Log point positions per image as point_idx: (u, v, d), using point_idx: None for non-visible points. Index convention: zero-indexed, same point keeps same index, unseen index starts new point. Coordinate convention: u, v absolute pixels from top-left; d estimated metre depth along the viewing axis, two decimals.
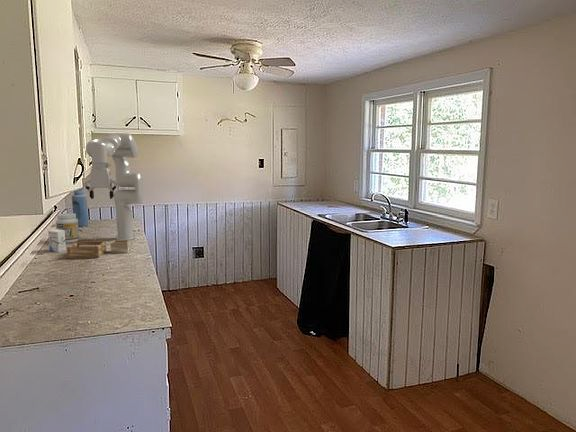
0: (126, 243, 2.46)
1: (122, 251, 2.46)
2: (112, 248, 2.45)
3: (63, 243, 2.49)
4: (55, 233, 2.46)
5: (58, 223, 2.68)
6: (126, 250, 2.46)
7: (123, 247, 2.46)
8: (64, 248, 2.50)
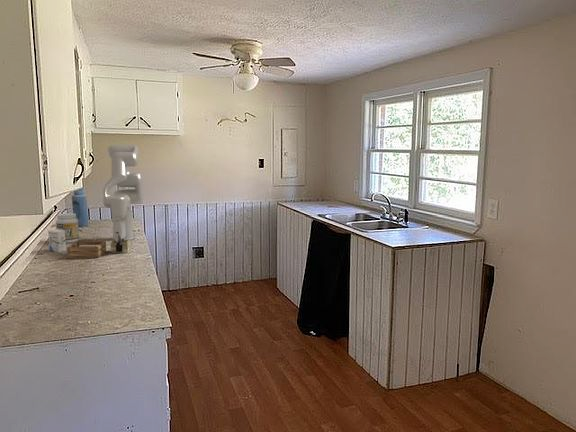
0: (126, 243, 2.46)
1: (122, 251, 2.46)
2: (112, 248, 2.45)
3: (63, 243, 2.49)
4: (55, 233, 2.46)
5: (58, 223, 2.68)
6: (126, 250, 2.46)
7: (123, 247, 2.46)
8: (64, 248, 2.50)
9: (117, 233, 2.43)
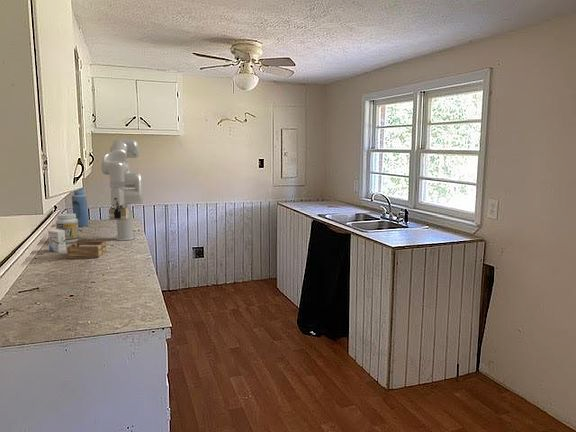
0: (124, 210, 2.43)
1: (120, 218, 2.44)
2: (110, 215, 2.43)
3: (63, 243, 2.49)
4: (55, 233, 2.46)
5: (58, 223, 2.68)
6: (124, 217, 2.44)
7: (121, 214, 2.43)
8: (64, 248, 2.50)
9: (115, 199, 2.40)
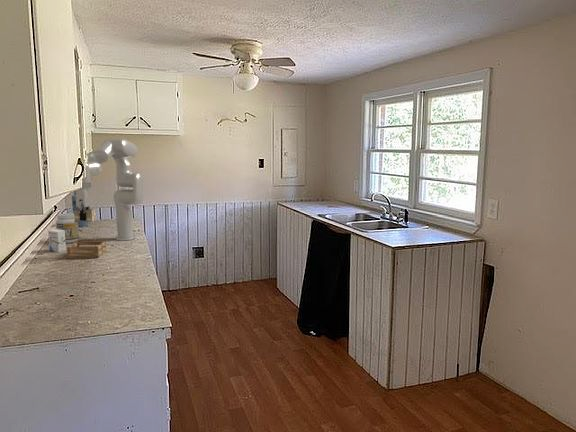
0: (90, 212, 2.35)
1: (86, 220, 2.36)
2: (76, 217, 2.35)
3: (63, 243, 2.49)
4: (55, 233, 2.46)
5: (58, 223, 2.68)
6: (90, 219, 2.36)
7: (87, 216, 2.35)
8: (64, 248, 2.50)
9: (80, 201, 2.32)
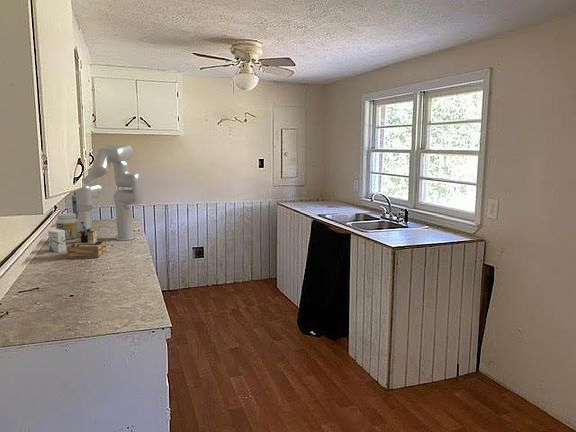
0: (91, 234, 2.37)
1: (87, 242, 2.37)
2: (77, 239, 2.36)
3: (63, 243, 2.49)
4: (55, 233, 2.46)
5: (58, 223, 2.68)
6: (92, 241, 2.37)
7: (88, 238, 2.37)
8: (64, 248, 2.50)
9: (82, 223, 2.34)
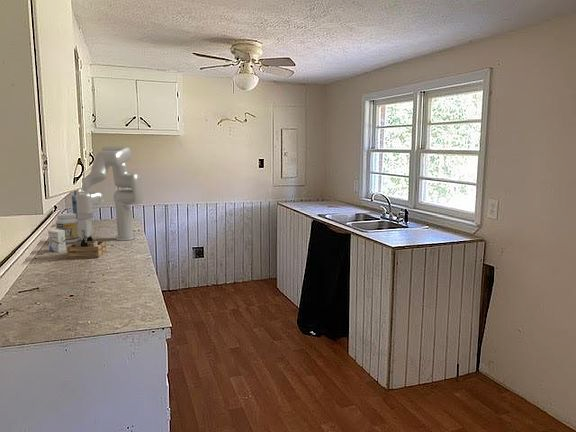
0: (92, 244, 2.38)
1: None
2: None
3: (63, 243, 2.49)
4: (55, 233, 2.46)
5: (58, 223, 2.68)
6: (93, 251, 2.39)
7: None
8: (64, 248, 2.50)
9: None
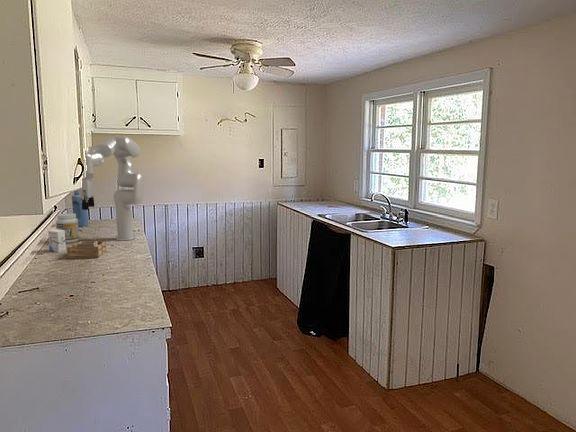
0: (92, 244, 2.38)
1: None
2: None
3: (63, 243, 2.49)
4: (55, 233, 2.46)
5: (58, 223, 2.68)
6: (93, 251, 2.39)
7: None
8: (64, 248, 2.50)
9: None
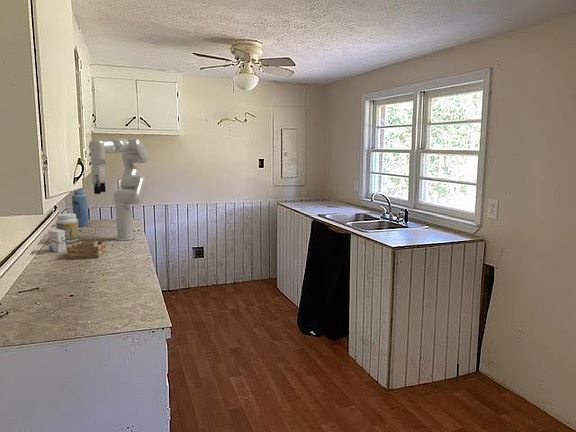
0: (92, 244, 2.38)
1: None
2: None
3: (63, 243, 2.49)
4: (55, 233, 2.46)
5: (58, 223, 2.68)
6: (93, 251, 2.39)
7: None
8: (64, 248, 2.50)
9: None
